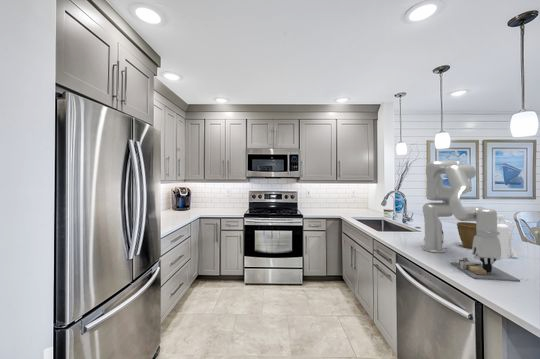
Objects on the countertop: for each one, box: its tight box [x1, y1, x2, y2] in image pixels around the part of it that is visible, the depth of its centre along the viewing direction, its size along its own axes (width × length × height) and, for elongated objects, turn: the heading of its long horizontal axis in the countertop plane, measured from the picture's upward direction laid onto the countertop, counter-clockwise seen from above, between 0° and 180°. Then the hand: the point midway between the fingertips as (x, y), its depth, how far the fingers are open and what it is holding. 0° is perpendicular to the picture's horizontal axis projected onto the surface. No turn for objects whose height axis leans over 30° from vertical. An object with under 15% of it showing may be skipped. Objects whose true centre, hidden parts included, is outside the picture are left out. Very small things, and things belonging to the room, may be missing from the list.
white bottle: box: [497, 214, 519, 259], centre depth 140 cm, size 7×12×25 cm, turn 58°
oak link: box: [458, 257, 486, 275], centre depth 121 cm, size 15×4×3 cm, turn 168°
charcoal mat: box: [450, 261, 521, 283], centre depth 120 cm, size 20×18×1 cm
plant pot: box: [456, 221, 476, 250], centre depth 159 cm, size 15×15×16 cm
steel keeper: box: [460, 261, 483, 270], centre depth 121 cm, size 2×9×4 cm, turn 78°
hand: (487, 271), depth 115 cm, fingers closed
